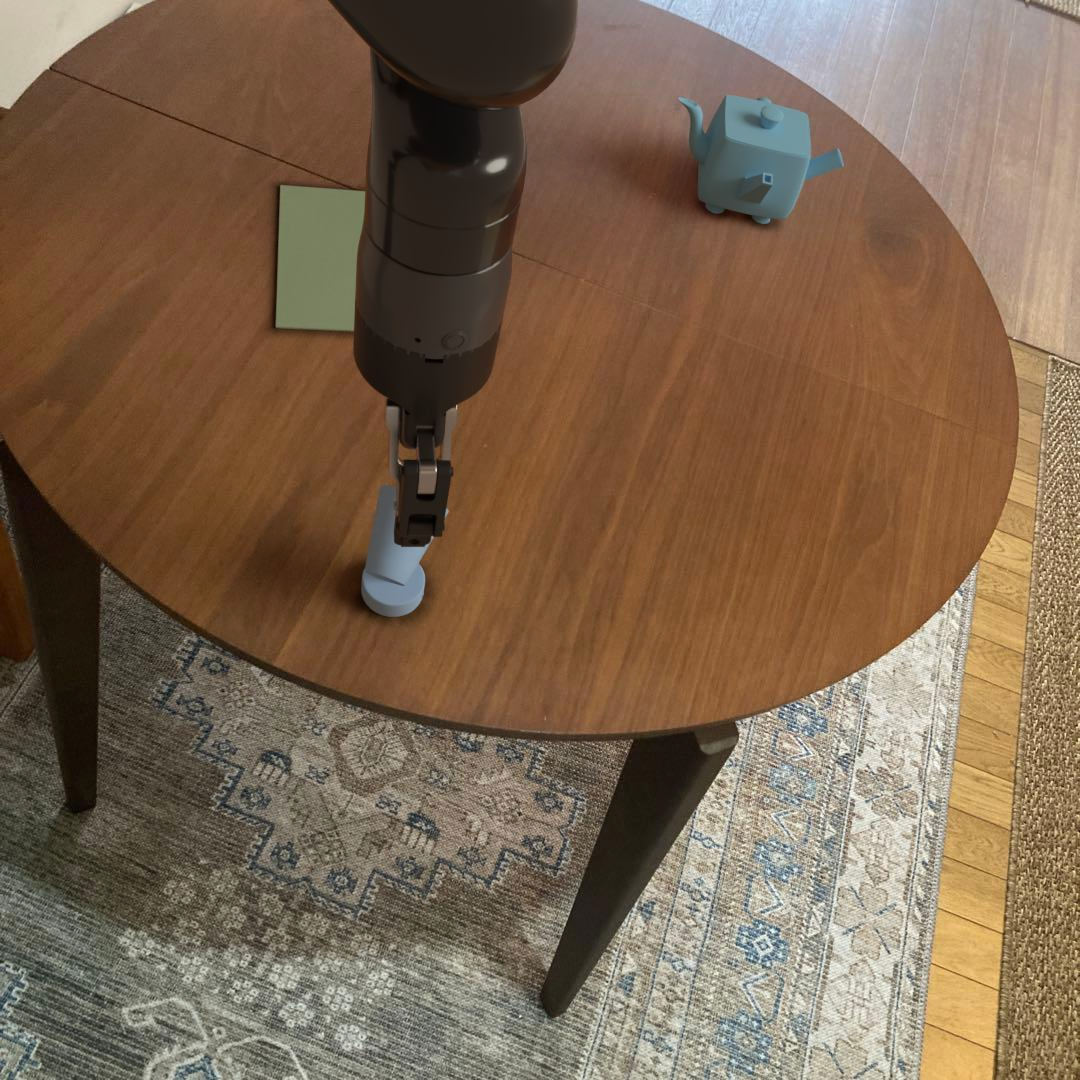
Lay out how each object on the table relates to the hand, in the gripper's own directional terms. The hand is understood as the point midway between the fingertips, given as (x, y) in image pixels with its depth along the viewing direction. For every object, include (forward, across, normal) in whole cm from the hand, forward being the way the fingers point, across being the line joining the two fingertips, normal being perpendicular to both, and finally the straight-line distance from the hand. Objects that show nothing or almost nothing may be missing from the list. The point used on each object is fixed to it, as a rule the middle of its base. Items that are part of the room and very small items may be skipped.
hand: (408, 483), depth 65 cm
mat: (+13, -34, 0) cm, 36 cm away
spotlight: (+13, 0, 0) cm, 13 cm away
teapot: (+13, -46, +37) cm, 60 cm away
